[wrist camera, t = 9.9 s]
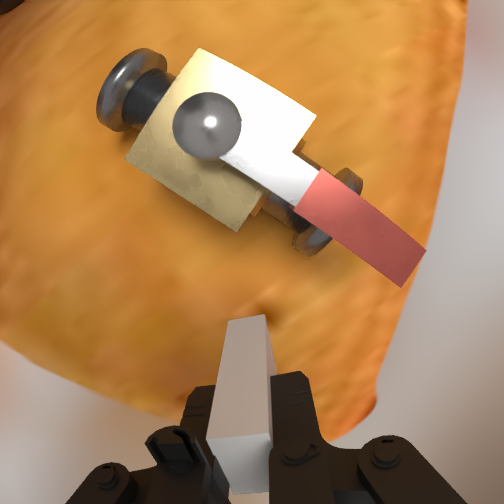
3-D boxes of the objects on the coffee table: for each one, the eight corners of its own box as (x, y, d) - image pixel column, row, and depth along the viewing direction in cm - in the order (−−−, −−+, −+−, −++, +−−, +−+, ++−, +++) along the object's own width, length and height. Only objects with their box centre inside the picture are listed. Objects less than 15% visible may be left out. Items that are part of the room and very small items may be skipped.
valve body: (118, 136, 25) (68, 123, 17) (169, 59, 23) (136, 20, 15) (296, 251, 26) (310, 281, 18) (350, 172, 25) (387, 169, 17)
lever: (176, 143, 17) (159, 136, 14) (207, 96, 16) (197, 80, 13) (379, 279, 18) (398, 296, 15) (409, 235, 17) (433, 245, 14)
